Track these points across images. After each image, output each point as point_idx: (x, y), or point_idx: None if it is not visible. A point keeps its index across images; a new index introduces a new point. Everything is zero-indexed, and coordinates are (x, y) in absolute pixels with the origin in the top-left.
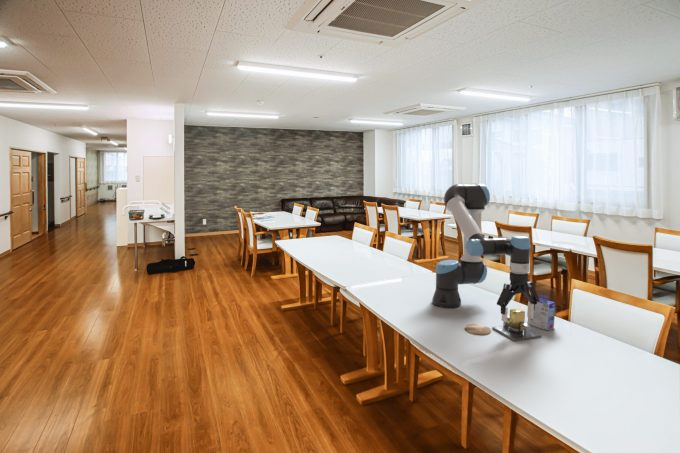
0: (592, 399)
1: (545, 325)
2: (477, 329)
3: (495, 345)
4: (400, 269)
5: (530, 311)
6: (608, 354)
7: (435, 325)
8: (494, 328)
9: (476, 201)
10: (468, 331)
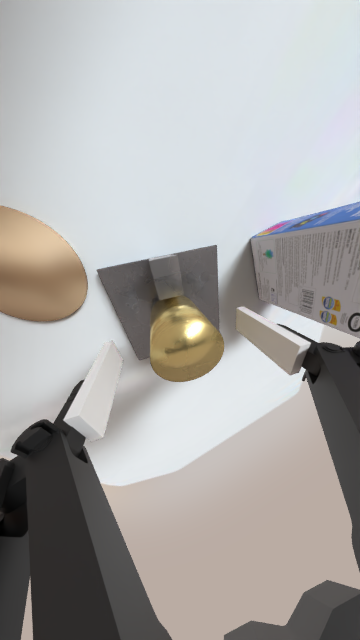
0: (162, 453)
1: (268, 298)
2: (21, 283)
3: (81, 375)
4: None
5: (255, 336)
6: (261, 383)
7: None
8: (103, 281)
9: None
10: None
